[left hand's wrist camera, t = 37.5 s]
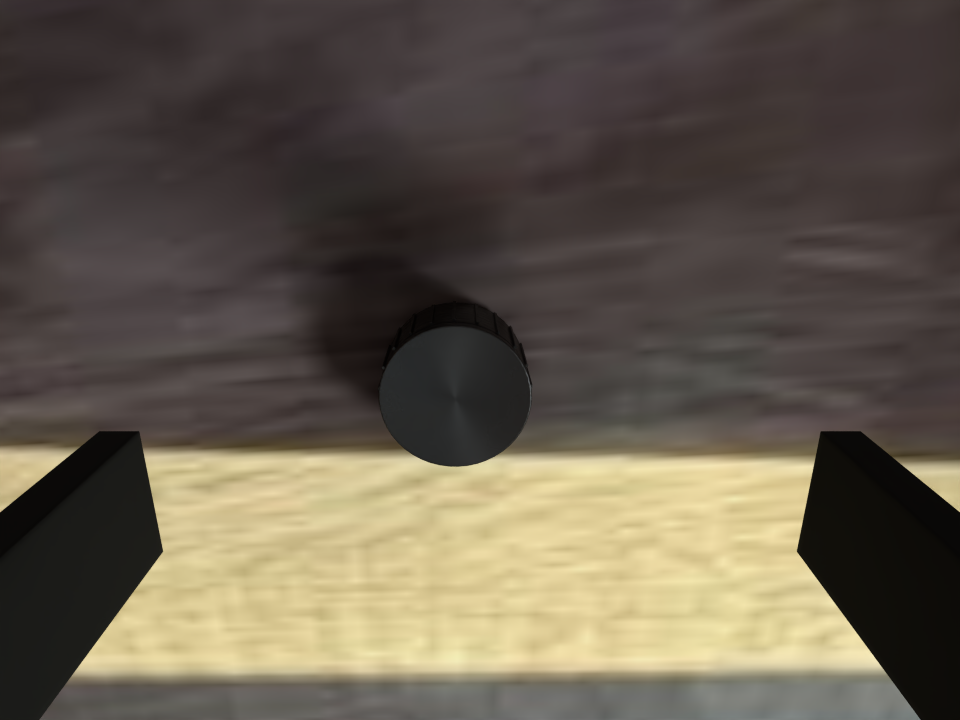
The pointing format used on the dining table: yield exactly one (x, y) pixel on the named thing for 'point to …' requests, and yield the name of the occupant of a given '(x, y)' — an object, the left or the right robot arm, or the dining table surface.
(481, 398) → the cap
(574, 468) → the dining table surface
